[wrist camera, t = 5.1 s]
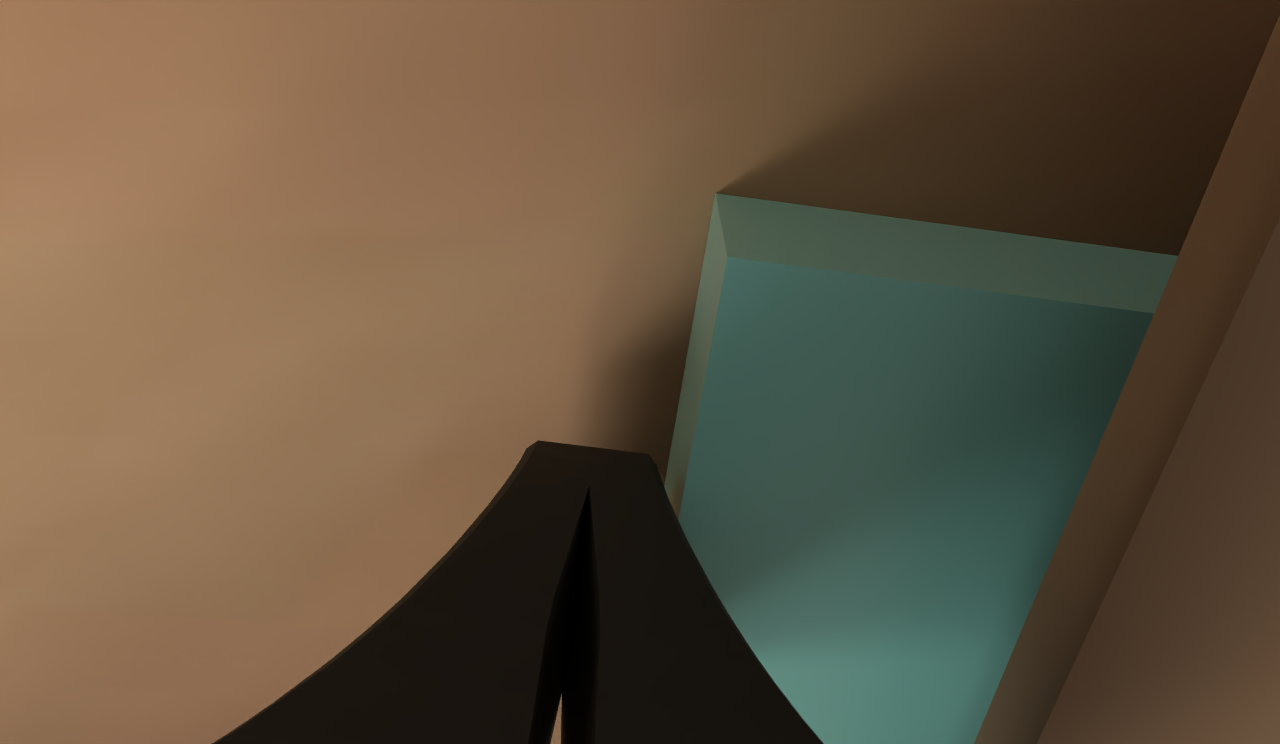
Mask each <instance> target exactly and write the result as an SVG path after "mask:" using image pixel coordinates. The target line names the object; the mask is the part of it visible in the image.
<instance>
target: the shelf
mask: <svg viewBox="0 0 1280 744" xmlns="http://www.w3.org/2000/svg"><path fill="white" fill-rule="evenodd" d="M974 744H1280V15H1279V18H1278V20H1277V22H1276V25H1275V27H1274V29H1273V32H1272V34H1271V37H1270V39H1269V41H1268V44H1267V46H1266V49H1265V51H1264V53H1263V56H1262V58H1261V60H1260V63H1259V65H1258V68H1257V70H1256V72H1255V75H1254V77H1253V80H1252V82H1251V84H1250V87H1249V89H1248V91H1247V94H1246V96H1245V99H1244V101H1243V103H1242V106H1241V108H1240V111H1239V113H1238V115H1237V118H1236V120H1235V122H1234V125H1233V127H1232V130H1231V132H1230V134H1229V137H1228V139H1227V141H1226V144H1225V146H1224V149H1223V151H1222V153H1221V156H1220V158H1219V161H1218V163H1217V165H1216V168H1215V170H1214V172H1213V175H1212V177H1211V180H1210V182H1209V184H1208V187H1207V189H1206V192H1205V194H1204V196H1203V199H1202V201H1201V203H1200V206H1199V208H1198V211H1197V213H1196V215H1195V218H1194V220H1193V223H1192V225H1191V227H1190V230H1189V232H1188V234H1187V237H1186V239H1185V242H1184V244H1183V246H1182V249H1181V251H1180V254H1179V256H1178V258H1177V261H1176V263H1175V265H1174V268H1173V270H1172V273H1171V275H1170V277H1169V280H1168V282H1167V285H1166V287H1165V289H1164V292H1163V294H1162V296H1161V299H1160V301H1159V304H1158V306H1157V308H1156V311H1155V313H1154V315H1153V318H1152V320H1151V323H1150V325H1149V327H1148V330H1147V332H1146V335H1145V337H1144V339H1143V342H1142V344H1141V346H1140V349H1139V351H1138V354H1137V356H1136V358H1135V361H1134V363H1133V366H1132V368H1131V370H1130V373H1129V375H1128V377H1127V380H1126V382H1125V385H1124V387H1123V389H1122V392H1121V394H1120V397H1119V399H1118V401H1117V404H1116V406H1115V408H1114V411H1113V413H1112V416H1111V418H1110V420H1109V423H1108V425H1107V428H1106V430H1105V432H1104V435H1103V437H1102V439H1101V442H1100V444H1099V447H1098V449H1097V451H1096V454H1095V456H1094V459H1093V461H1092V463H1091V466H1090V468H1089V470H1088V473H1087V475H1086V478H1085V480H1084V482H1083V485H1082V487H1081V489H1080V492H1079V494H1078V497H1077V499H1076V501H1075V504H1074V506H1073V509H1072V511H1071V513H1070V516H1069V518H1068V520H1067V523H1066V525H1065V528H1064V530H1063V532H1062V535H1061V537H1060V540H1059V542H1058V544H1057V547H1056V549H1055V551H1054V554H1053V556H1052V559H1051V561H1050V563H1049V566H1048V568H1047V571H1046V573H1045V575H1044V578H1043V580H1042V582H1041V585H1040V587H1039V590H1038V592H1037V594H1036V597H1035V599H1034V602H1033V604H1032V606H1031V609H1030V611H1029V613H1028V616H1027V618H1026V621H1025V623H1024V625H1023V628H1022V630H1021V633H1020V635H1019V637H1018V640H1017V642H1016V644H1015V647H1014V649H1013V652H1012V654H1011V656H1010V659H1009V661H1008V663H1007V666H1006V668H1005V671H1004V673H1003V675H1002V678H1001V680H1000V683H999V685H998V687H997V690H996V692H995V694H994V697H993V699H992V702H991V704H990V706H989V709H988V711H987V714H986V716H985V718H984V721H983V723H982V725H981V728H980V730H979V733H978V735H977V737H976V740H975V742H974Z"/></svg>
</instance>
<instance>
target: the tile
mask: <svg viewBox="0 0 1280 744" xmlns="http://www.w3.org/2000/svg"><path fill="white" fill-rule="evenodd" d="M1177 258H1178V256H1175V255H1168V254H1161V253H1153V252H1146V251H1139V250H1131V249H1124V248H1116V247H1109V246H1102V245H1094V244H1087V243H1080V242H1072V241H1065V240H1057V239H1050V238H1043V237H1035V236H1028V235H1021V234H1013V233H1006V232H998V231H991V230H984V229H976V228H969V227H962V226H954V225H947V224H940V223H932V222H925V221H917V220H910V219H903V218H895V217H888V216H881V215H873V214H866V213H858V212H851V211H844V210H836V209H829V208H822V207H814V206H807V205H799V204H792V203H785V202H777V201H770V200H763V199H755V198H748V197H740V196H733V195H726V194H718V193H715V198H714V203H713V209H712V215H711V221H710V226H709V232H708V238H707V244H706V249H705V255H704V261H703V267H702V272H701V278H700V284H699V290H698V295H697V301H696V307H695V313H694V318H693V324H692V330H691V335H690V341H689V347H688V353H687V358H686V364H685V370H684V376H683V381H682V387H681V393H680V399H679V404H678V410H677V416H676V422H675V427H674V433H673V439H672V445H671V450H670V456H669V462H668V468H667V473H666V479H665V485H664V488H665V491H666V493H667V496H668V498H669V500H670V503H671V505H672V508H673V510H674V512H675V514H676V516H677V519H678V521H679V523H680V525H681V527H682V530H683V532H684V534H685V536H686V538H687V540H688V542H689V544H690V546H691V548H692V550H693V551H694V553H695V555H696V557H697V559H698V561H699V563H700V564H701V566H702V568H703V570H704V572H705V574H706V576H707V577H708V579H709V581H710V583H711V585H712V587H713V588H714V590H715V592H716V593H717V595H718V597H719V599H720V600H721V602H722V604H723V605H724V607H725V609H726V610H727V612H728V613H729V615H730V617H731V618H732V620H733V621H734V623H735V624H736V626H737V628H738V629H739V631H740V632H741V634H742V635H743V637H744V639H745V640H746V642H747V643H748V645H749V646H750V648H751V649H752V651H753V652H754V654H755V655H756V656H757V658H758V659H759V661H760V662H761V664H762V665H763V667H764V668H765V669H766V671H767V672H768V674H769V675H770V676H771V678H772V679H773V680H774V682H775V683H776V685H777V686H778V687H779V688H780V690H781V691H782V692H783V694H784V695H785V696H786V697H787V699H788V700H789V701H790V703H791V704H792V705H793V707H794V708H795V709H796V710H797V712H798V713H799V714H800V716H801V717H802V718H803V719H804V721H805V722H806V723H807V724H808V725H809V727H810V728H811V729H812V730H813V731H814V733H815V734H816V735H817V736H818V737H819V739H820V740H821V741H822V742H823V743H824V744H974V742H975V740H976V737H977V735H978V733H979V730H980V728H981V725H982V723H983V721H984V718H985V716H986V714H987V711H988V709H989V706H990V704H991V702H992V699H993V697H994V694H995V692H996V690H997V687H998V685H999V683H1000V680H1001V678H1002V675H1003V673H1004V671H1005V668H1006V666H1007V663H1008V661H1009V659H1010V656H1011V654H1012V652H1013V649H1014V647H1015V644H1016V642H1017V640H1018V637H1019V635H1020V633H1021V630H1022V628H1023V625H1024V623H1025V621H1026V618H1027V616H1028V613H1029V611H1030V609H1031V606H1032V604H1033V602H1034V599H1035V597H1036V594H1037V592H1038V590H1039V587H1040V585H1041V582H1042V580H1043V578H1044V575H1045V573H1046V571H1047V568H1048V566H1049V563H1050V561H1051V559H1052V556H1053V554H1054V551H1055V549H1056V547H1057V544H1058V542H1059V540H1060V537H1061V535H1062V532H1063V530H1064V528H1065V525H1066V523H1067V520H1068V518H1069V516H1070V513H1071V511H1072V509H1073V506H1074V504H1075V501H1076V499H1077V497H1078V494H1079V492H1080V489H1081V487H1082V485H1083V482H1084V480H1085V478H1086V475H1087V473H1088V470H1089V468H1090V466H1091V463H1092V461H1093V459H1094V456H1095V454H1096V451H1097V449H1098V447H1099V444H1100V442H1101V439H1102V437H1103V435H1104V432H1105V430H1106V428H1107V425H1108V423H1109V420H1110V418H1111V416H1112V413H1113V411H1114V408H1115V406H1116V404H1117V401H1118V399H1119V397H1120V394H1121V392H1122V389H1123V387H1124V385H1125V382H1126V380H1127V377H1128V375H1129V373H1130V370H1131V368H1132V366H1133V363H1134V361H1135V358H1136V356H1137V354H1138V351H1139V349H1140V346H1141V344H1142V342H1143V339H1144V337H1145V335H1146V332H1147V330H1148V327H1149V325H1150V323H1151V320H1152V318H1153V315H1154V313H1155V311H1156V308H1157V306H1158V304H1159V301H1160V299H1161V296H1162V294H1163V292H1164V289H1165V287H1166V285H1167V282H1168V280H1169V277H1170V275H1171V273H1172V270H1173V268H1174V265H1175V263H1176V261H1177Z"/></svg>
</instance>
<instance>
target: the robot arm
mask: <svg viewBox="0 0 1280 744" xmlns="http://www.w3.org/2000/svg"><path fill="white" fill-rule="evenodd" d="M561 693H562V715H561V744H824V743H823V742H822V741H821V740H820V739H819V737H818V736H817V735H816V734H815V733H814V731H813V730H812V729H811V728H810V727H809V725H808V724H807V723H806V722H805V721H804V719H803V718H802V717H801V716H800V714H799V713H798V712H797V710H796V709H795V708H794V707H793V705H792V704H791V703H790V701H789V700H788V699H787V697H786V696H785V695H784V694H783V692H782V691H781V690H780V688H779V687H778V686H777V685H776V683H775V682H774V680H773V679H772V678H771V676H770V675H769V674H768V672H767V671H766V669H765V668H764V667H763V665H762V664H761V662H760V661H759V659H758V658H757V656H756V655H755V654H754V652H753V651H752V649H751V648H750V646H749V645H748V643H747V642H746V640H745V639H744V637H743V635H742V634H741V632H740V631H739V629H738V628H737V626H736V624H735V623H734V621H733V620H732V618H731V617H730V615H729V613H728V612H727V610H726V609H725V607H724V605H723V604H722V602H721V600H720V599H719V597H718V595H717V593H716V592H715V590H714V588H713V587H712V585H711V583H710V581H709V579H708V577H707V576H706V574H705V572H704V570H703V568H702V566H701V564H700V563H699V561H698V559H697V557H696V555H695V553H694V551H693V550H692V548H691V546H690V544H689V542H688V540H687V538H686V536H685V534H684V532H683V530H682V527H681V525H680V523H679V521H678V519H677V516H676V514H675V512H674V510H673V508H672V505H671V503H670V500H669V498H668V496H667V493H666V491H665V488H664V485H663V483H662V480H661V477H660V474H659V471H658V467H657V464H656V463H655V462H654V461H653V459H652V458H651V457H650V455H649V454H643V453H635V452H627V451H619V450H610V449H602V448H594V447H586V446H578V445H570V444H562V443H554V442H546V441H537V442H535V443H534V444H532V445H531V446H529V447H528V448H527V449H526V451H525V453H524V454H523V456H522V458H521V460H520V461H519V463H518V465H517V466H516V468H515V469H514V471H513V472H512V474H511V475H510V477H509V478H508V479H507V481H506V482H505V484H504V485H503V486H502V488H501V489H500V490H499V492H498V493H497V494H496V496H495V497H494V498H493V499H492V501H491V502H490V503H489V505H488V506H487V507H486V508H485V510H484V511H483V512H482V513H481V514H480V515H479V517H478V518H477V519H476V520H475V521H474V522H473V524H472V525H471V526H470V527H469V528H468V529H467V531H466V532H465V533H464V534H463V535H462V537H461V538H460V539H459V540H458V541H457V542H456V543H455V545H454V546H453V547H452V548H451V549H450V550H449V551H448V552H447V553H446V554H445V555H444V556H443V557H442V558H441V559H440V560H439V561H438V562H437V563H436V565H435V566H434V567H433V568H432V569H431V570H430V571H429V572H428V573H427V574H426V575H425V576H424V577H423V578H422V579H421V580H420V581H419V582H418V583H417V584H416V585H415V586H414V587H413V588H412V589H411V590H410V591H409V592H408V593H407V594H406V595H405V596H404V597H403V598H402V599H401V600H400V601H398V602H397V603H396V604H395V605H394V606H393V607H392V608H391V609H390V610H389V611H388V612H386V613H385V614H384V615H383V616H382V617H381V618H380V619H379V620H378V621H376V622H375V623H374V624H373V625H372V626H371V627H370V628H368V629H367V630H366V631H365V632H364V633H363V634H361V635H360V636H359V637H358V638H357V639H355V640H354V641H353V642H352V643H351V644H349V645H348V646H347V647H346V648H345V649H343V650H342V651H341V652H340V653H339V654H337V655H336V656H335V657H334V658H332V659H331V660H330V661H329V662H327V663H326V664H325V665H323V666H322V667H321V668H319V669H318V670H317V671H315V672H314V673H313V674H311V675H310V676H309V677H307V678H306V679H305V680H303V681H302V682H301V683H299V684H298V685H297V686H295V687H294V688H292V689H291V690H290V691H288V692H287V693H286V694H284V695H283V696H282V697H280V698H279V699H278V700H276V701H275V702H274V703H272V704H271V705H269V706H268V707H267V708H265V709H264V710H262V711H261V712H259V713H258V714H256V715H255V716H254V717H252V718H251V719H249V720H248V721H246V722H245V723H243V724H242V725H240V726H239V727H237V728H236V729H234V730H233V731H231V732H230V733H228V734H227V735H225V736H223V737H222V738H220V739H219V740H217V741H215V742H214V743H212V744H550V742H551V738H552V733H553V729H554V725H555V720H556V716H557V711H558V707H559V702H560V698H561Z"/></svg>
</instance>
